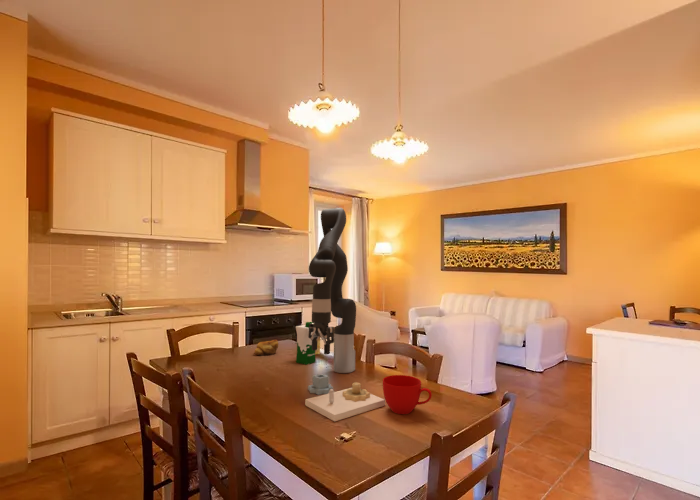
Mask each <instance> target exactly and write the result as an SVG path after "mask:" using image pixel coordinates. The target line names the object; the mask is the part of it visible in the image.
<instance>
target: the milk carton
mask: <svg viewBox="0 0 700 500" xmlns="http://www.w3.org/2000/svg"><path fill="white" fill-rule="evenodd" d="M310 323H313V322H312V321H307V322H305V324H301V325H296V326H295V330H296V358H295V363H297V364H302V365H307V366H308V365H310V364H313V363H314V364H315V363H317V362H316V354H315V350H312V341H311V339H310V338H309V337H308V334H309V324H310ZM312 333H313V332H311V335H312Z"/></svg>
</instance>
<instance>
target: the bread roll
mask: <svg viewBox="0 0 700 500" xmlns="http://www.w3.org/2000/svg"><path fill="white" fill-rule="evenodd" d="M278 348H279V341H278V340H277V339H272V340H268V341H267V340H266V341H260V342H258V343H257V345H256V348H255V349H254V352H253V353H254V354H255V355H256V356H265V355H267V356H271V355H274V354H276V353H277V349H278Z"/></svg>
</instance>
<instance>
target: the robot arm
mask: <svg viewBox="0 0 700 500" xmlns="http://www.w3.org/2000/svg"><path fill="white" fill-rule="evenodd" d="M320 223H321V228H322V229H321V230H322V233H323V234H322V235H323V237H322V239H321V240H320V243H319V245H318V250H317V252H316V254H314V256H313V258H312V259H311V261H310V262H309V265H308V273H309V276H311V277H312V278H325V280H324V281H323V282H319V283H315V284H313V286H312V302H311V322H313V323H310V324H309V334H308V337H309V338H310V339H311V341H312V350H317V339H318V337H320V340H323V343H324V344H323V354H324V355H329V354H330V353H331V344H333V372H335V373H338V374H349V373H353V372H354V371H356V349H355V348H354V347H355V345H354V344H355V339H354V338H355V337H354V336H355V328H356V320H357V305H356V302H355V300H354V299H351V298H344V297H343V284H344V281H345V280H346V277H347V274H348V269H349V268H348V259H347V258H348V257H347V255H346V252H344V250H343V249H342V247H341V246H340V245H339V244H338V243H339V240H340V238H341V236H342V233H343V232H344V229H345V228H346V227H345V226H346V223H347V214H346V211H345V210H344V208H343V207H335V208H326V209H325V208H324V209H322V210H321V212H320ZM332 316H333V317H335V318H337V319H341V323H340V324H339V325H336V326H331V327H329V324H330V323H331V322H332V321H331V320H332ZM311 332H313V333H312V335H311Z"/></svg>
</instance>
